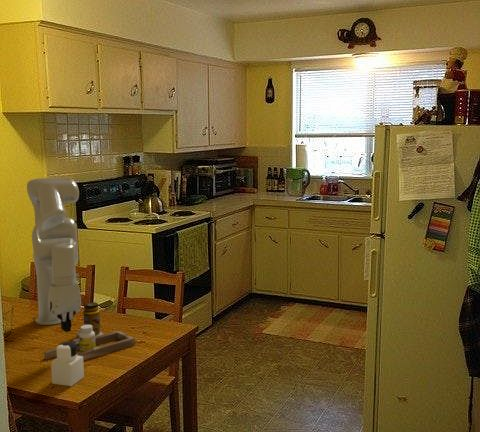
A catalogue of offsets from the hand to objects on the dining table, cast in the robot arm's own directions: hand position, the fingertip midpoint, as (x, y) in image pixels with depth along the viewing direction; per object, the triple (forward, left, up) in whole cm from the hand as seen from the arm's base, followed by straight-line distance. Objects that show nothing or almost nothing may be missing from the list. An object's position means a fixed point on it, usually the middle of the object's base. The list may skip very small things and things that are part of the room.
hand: (66, 330), depth 190 cm
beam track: (0, +8, -10) cm, 13 cm away
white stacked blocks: (+17, -8, -10) cm, 21 cm away
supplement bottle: (+1, +7, -10) cm, 12 cm away
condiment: (-15, +17, -10) cm, 24 cm away
